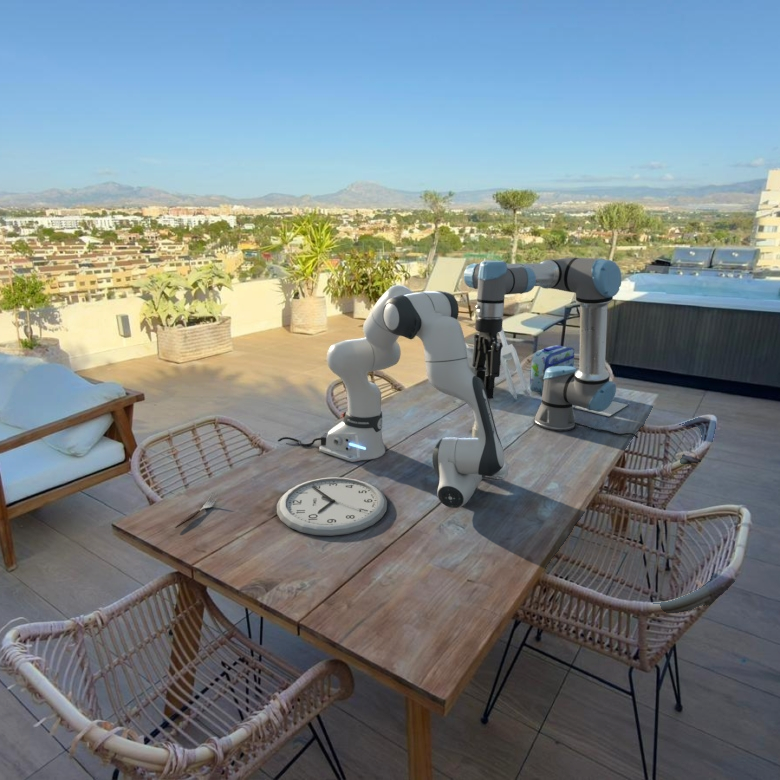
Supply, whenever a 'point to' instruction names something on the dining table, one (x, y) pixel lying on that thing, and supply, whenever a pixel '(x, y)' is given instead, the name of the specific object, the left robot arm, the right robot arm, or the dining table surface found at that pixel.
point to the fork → (206, 505)
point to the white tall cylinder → (475, 431)
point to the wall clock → (331, 506)
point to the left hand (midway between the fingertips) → (479, 455)
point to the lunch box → (548, 363)
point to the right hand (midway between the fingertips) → (483, 395)
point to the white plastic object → (503, 364)
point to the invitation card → (607, 409)
